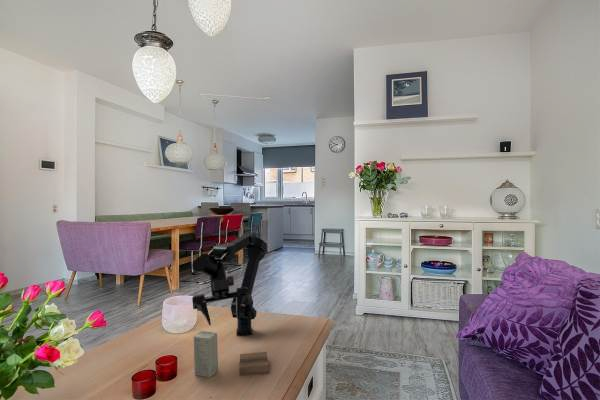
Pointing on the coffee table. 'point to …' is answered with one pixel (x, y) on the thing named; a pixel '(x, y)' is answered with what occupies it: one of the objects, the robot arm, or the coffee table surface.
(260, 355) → the walnut plinth
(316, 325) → the coffee table surface
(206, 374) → the skincare box
